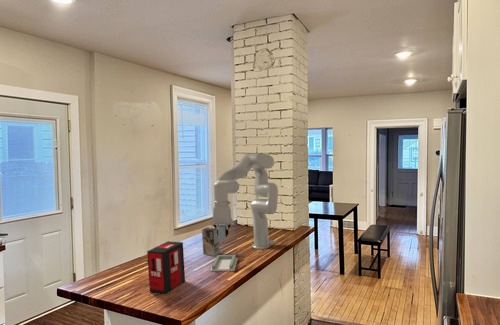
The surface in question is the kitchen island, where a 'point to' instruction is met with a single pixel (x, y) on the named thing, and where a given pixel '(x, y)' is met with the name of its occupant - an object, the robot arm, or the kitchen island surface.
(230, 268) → the grey tray
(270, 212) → the robot arm
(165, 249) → the cleaning product box
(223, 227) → the pale grey cuboid block
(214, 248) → the coffee box
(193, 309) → the kitchen island surface
